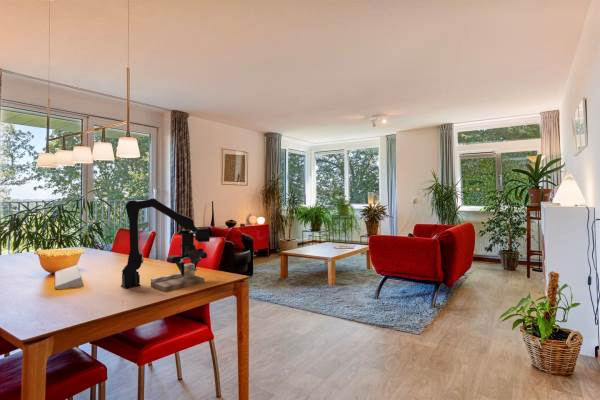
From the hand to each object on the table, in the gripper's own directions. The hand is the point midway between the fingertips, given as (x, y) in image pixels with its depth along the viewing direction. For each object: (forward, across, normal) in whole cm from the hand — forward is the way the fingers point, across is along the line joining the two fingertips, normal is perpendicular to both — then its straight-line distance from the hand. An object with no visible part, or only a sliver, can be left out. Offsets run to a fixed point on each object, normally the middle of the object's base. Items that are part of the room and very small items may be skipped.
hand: (187, 274), depth 164 cm
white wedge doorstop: (+4, -38, +47) cm, 61 cm away
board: (+3, -6, -2) cm, 7 cm away
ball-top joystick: (+1, 0, -3) cm, 3 cm away
